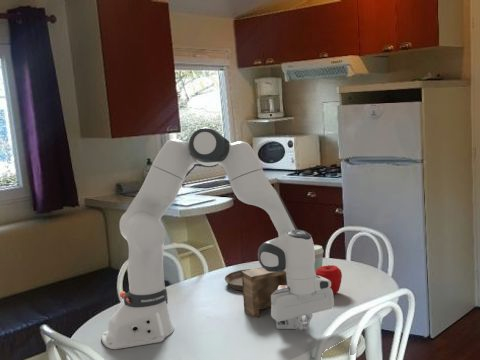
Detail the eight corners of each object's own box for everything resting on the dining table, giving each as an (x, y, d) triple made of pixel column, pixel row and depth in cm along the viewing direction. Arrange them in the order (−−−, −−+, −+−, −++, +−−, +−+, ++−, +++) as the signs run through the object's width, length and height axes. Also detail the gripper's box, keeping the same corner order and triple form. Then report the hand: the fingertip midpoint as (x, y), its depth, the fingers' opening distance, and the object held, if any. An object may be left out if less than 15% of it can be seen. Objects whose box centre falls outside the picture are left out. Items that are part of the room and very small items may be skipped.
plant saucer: (279, 275, 234) (278, 267, 233) (277, 292, 214) (276, 284, 213) (228, 277, 236) (228, 269, 236) (221, 294, 216) (221, 286, 215)
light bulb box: (297, 329, 178) (295, 296, 177) (275, 329, 180) (273, 296, 178) (300, 316, 188) (299, 284, 187) (280, 316, 190) (278, 284, 188)
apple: (330, 287, 214) (329, 259, 213) (348, 293, 206) (347, 264, 205) (310, 293, 209) (308, 264, 207) (327, 300, 201) (326, 270, 199)
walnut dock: (253, 317, 190) (251, 276, 188) (244, 311, 197) (241, 271, 195) (293, 308, 196) (291, 268, 194) (283, 301, 203) (280, 263, 201)
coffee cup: (299, 275, 231) (298, 246, 229) (319, 272, 233) (317, 243, 232) (308, 281, 223) (306, 251, 221) (328, 278, 225) (327, 248, 224)
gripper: (275, 294, 166) (278, 339, 168) (335, 280, 174) (337, 324, 176) (265, 288, 172) (268, 332, 174) (324, 275, 180) (326, 317, 182)
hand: (303, 328), depth 175 cm, fingers closed
